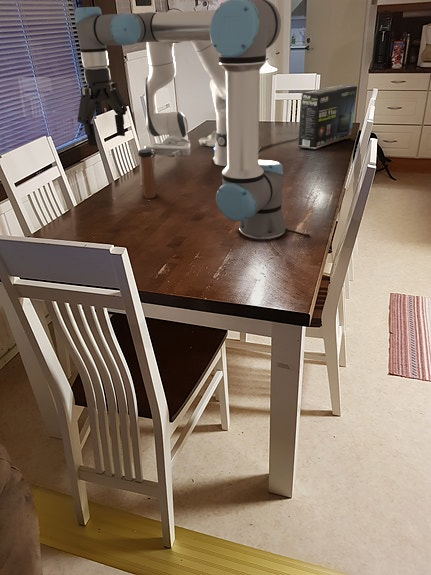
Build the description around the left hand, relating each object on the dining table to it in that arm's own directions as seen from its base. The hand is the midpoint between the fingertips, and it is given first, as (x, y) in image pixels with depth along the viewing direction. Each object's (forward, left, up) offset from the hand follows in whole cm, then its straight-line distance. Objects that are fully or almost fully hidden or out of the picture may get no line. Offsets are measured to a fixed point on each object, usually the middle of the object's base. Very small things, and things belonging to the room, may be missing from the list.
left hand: (163, 154), depth 196 cm
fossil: (-59, -16, -11) cm, 62 cm away
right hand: (+44, +18, +17) cm, 51 cm away
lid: (+20, +10, +7) cm, 23 cm away
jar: (+20, +10, -11) cm, 25 cm away
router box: (-90, +34, -11) cm, 97 cm away
